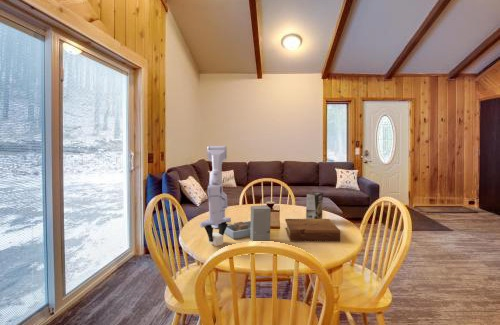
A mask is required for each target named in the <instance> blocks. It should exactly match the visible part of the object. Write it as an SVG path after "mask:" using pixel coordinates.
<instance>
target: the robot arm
mask: <svg viewBox="0 0 500 325" xmlns="http://www.w3.org/2000/svg"><path fill="white" fill-rule="evenodd" d="M206 149H207V150H206V156H207V159H208V161H210V162H211V167H212V170H211V171H210V172H209V178H208V179H209V182H208V186H207V196H208V198H207V199H208V213H209V214H208V219H206V220H204V221H201V222H199V227H200V228H204V229H205V231H206V234H207V236H208V237H207V238H208V242H209V241H210V242H212V241H213V236H212V234H213V233H214V229H218V233H219V234H221V235H223V236H224V235H225V234H224V232H225V229H226V228H227V225H228V223H231V222H232V219H231V217H229V216H228V217H226V209H227V208H228V195H227V193H226V192H224V190H223V189H224V188H223V187H224V185H223V172H222V170H223V169H222V167H223V166H222V165H223V162H225V161H227V156H228V155H227V154H228V148H227V145H208V146H207V147H206Z"/></svg>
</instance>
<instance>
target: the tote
mask: <svg viewBox="0 0 500 325" xmlns="http://www.w3.org/2000/svg"><path fill="white" fill-rule="evenodd" d="M243 222H244V223H246V224H248V229H244V230H240V231H235V232H234V223H232V224H227V228H226V229H225V232H224V235H226V236H228V237H229V238H231V239H233V240H238V239H242V238H246V237H250V225H251V220H249V221H248V220H247V221H243Z"/></svg>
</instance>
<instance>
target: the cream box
mask: <svg viewBox="0 0 500 325" xmlns="http://www.w3.org/2000/svg"><path fill="white" fill-rule="evenodd" d="M212 236H213V241H212V242H210V241H209V240H208V243H209V244H211V245H212V246H214V247H217V246H221V245H223V244H224V235H221V234H219V232H217V231H216V232H213V234H212Z"/></svg>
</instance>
